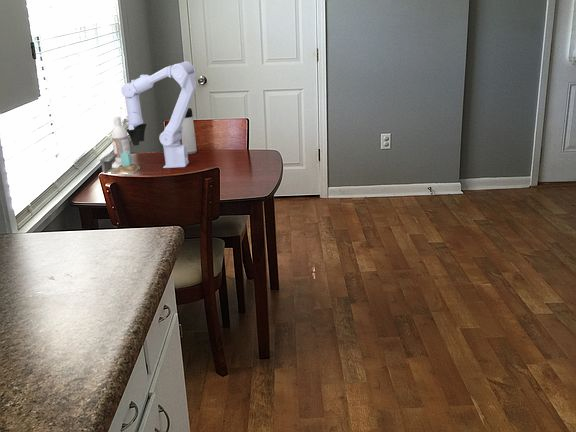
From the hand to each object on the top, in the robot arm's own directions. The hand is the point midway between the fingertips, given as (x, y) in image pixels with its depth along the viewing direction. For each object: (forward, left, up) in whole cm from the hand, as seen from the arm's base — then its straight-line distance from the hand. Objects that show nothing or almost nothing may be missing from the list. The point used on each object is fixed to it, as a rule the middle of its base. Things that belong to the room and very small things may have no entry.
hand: (138, 143), depth 277 cm
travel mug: (-17, -20, -10) cm, 28 cm away
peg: (+3, +10, -9) cm, 14 cm away
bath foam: (+11, -9, -10) cm, 17 cm away
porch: (+6, +10, -10) cm, 15 cm away
